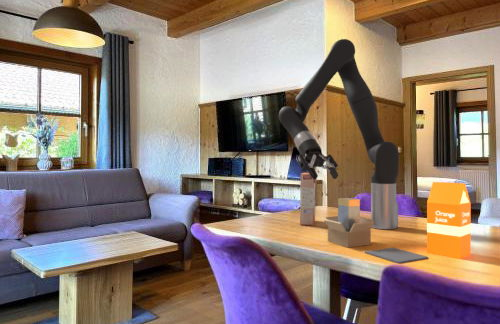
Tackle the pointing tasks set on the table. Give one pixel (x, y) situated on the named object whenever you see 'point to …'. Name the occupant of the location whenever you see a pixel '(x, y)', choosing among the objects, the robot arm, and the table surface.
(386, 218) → the robot arm
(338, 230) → the carton
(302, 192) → the cracker box
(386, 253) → the felt mat
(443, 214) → the orange juice
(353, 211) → the tall two-tone pillar
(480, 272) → the table surface
